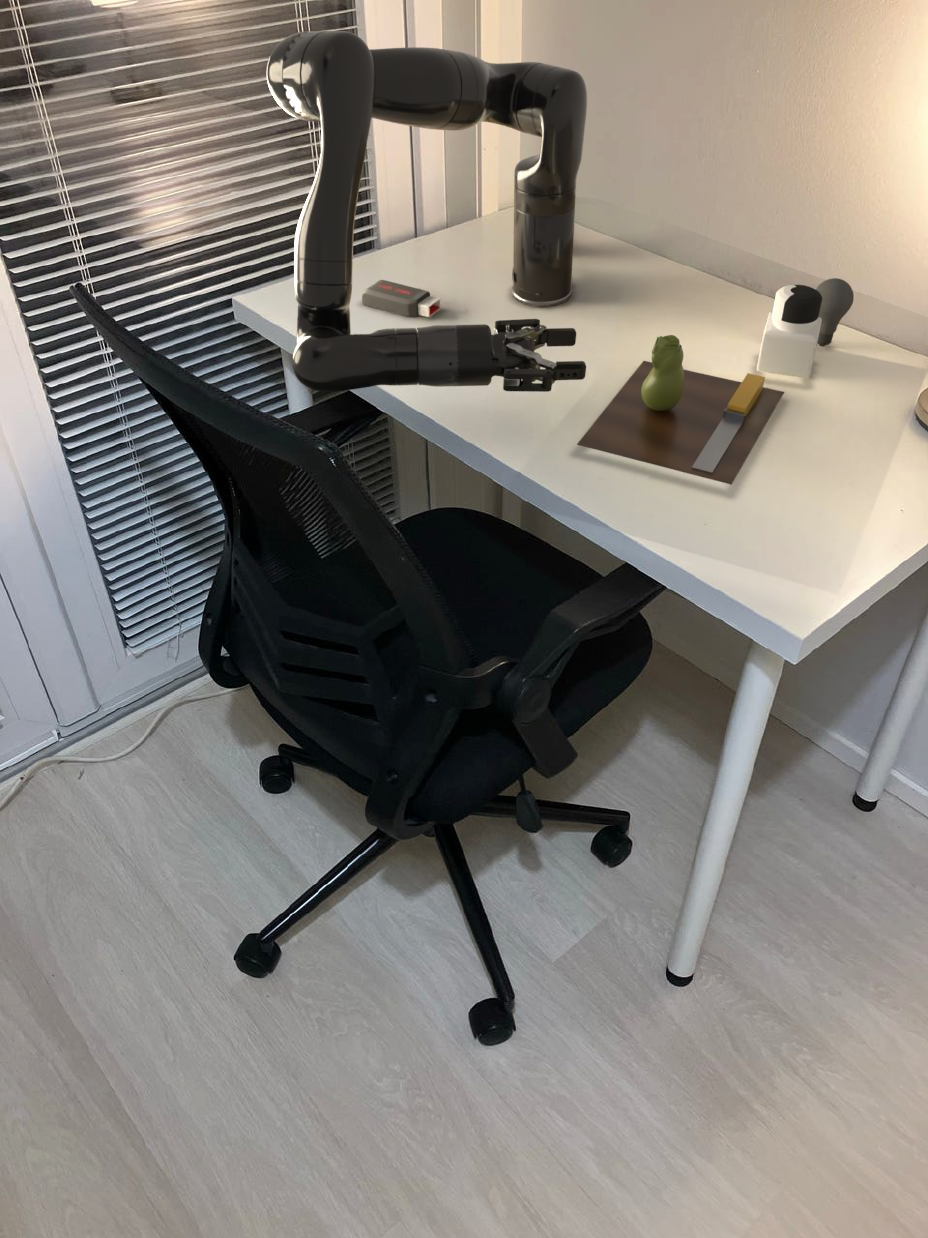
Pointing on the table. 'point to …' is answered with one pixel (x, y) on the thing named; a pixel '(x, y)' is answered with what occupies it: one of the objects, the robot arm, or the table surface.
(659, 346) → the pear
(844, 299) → the light bulb
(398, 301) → the usb drive
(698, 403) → the cutting board
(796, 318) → the medicine bottle
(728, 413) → the knife
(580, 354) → the table surface
